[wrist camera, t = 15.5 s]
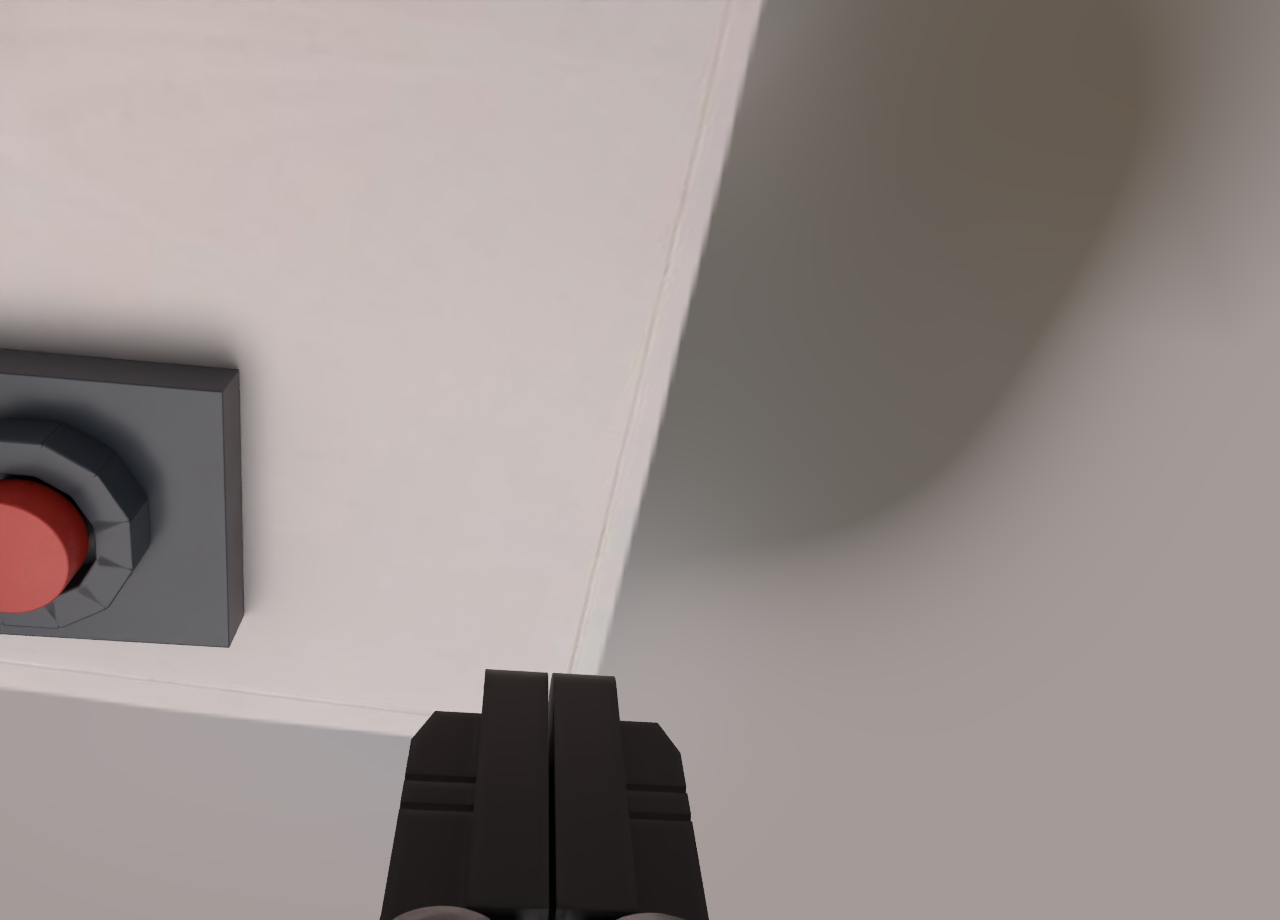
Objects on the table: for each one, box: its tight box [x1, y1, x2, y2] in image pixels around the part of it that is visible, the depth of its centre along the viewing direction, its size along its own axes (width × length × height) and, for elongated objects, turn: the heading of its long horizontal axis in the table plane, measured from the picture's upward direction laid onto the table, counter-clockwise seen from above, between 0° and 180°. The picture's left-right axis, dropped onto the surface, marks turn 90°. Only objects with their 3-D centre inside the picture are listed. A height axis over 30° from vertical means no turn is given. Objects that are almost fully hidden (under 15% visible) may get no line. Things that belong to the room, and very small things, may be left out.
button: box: [0, 479, 89, 613], centre depth 36 cm, size 4×4×2 cm
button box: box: [0, 349, 244, 648], centre depth 38 cm, size 12×10×4 cm
